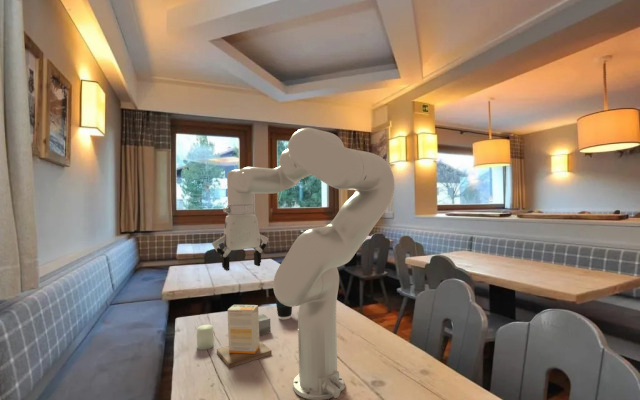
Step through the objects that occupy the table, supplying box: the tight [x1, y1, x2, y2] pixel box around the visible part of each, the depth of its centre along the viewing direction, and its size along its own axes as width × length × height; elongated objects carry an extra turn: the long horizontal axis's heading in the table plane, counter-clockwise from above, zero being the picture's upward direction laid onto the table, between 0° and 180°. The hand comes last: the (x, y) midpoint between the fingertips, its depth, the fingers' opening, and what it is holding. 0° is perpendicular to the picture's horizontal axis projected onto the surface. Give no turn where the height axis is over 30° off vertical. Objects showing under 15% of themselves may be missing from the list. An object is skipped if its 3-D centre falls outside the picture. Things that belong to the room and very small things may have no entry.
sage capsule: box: [196, 324, 215, 351], centre depth 104 cm, size 5×5×6 cm
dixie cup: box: [274, 295, 293, 320], centre depth 129 cm, size 8×8×11 cm
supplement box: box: [227, 304, 260, 354], centre depth 98 cm, size 8×5×13 cm, turn 81°
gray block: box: [259, 313, 272, 337], centre depth 115 cm, size 6×5×5 cm
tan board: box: [216, 339, 273, 369], centre depth 99 cm, size 11×13×1 cm
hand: (242, 267), depth 99 cm, fingers open, 9 cm apart
